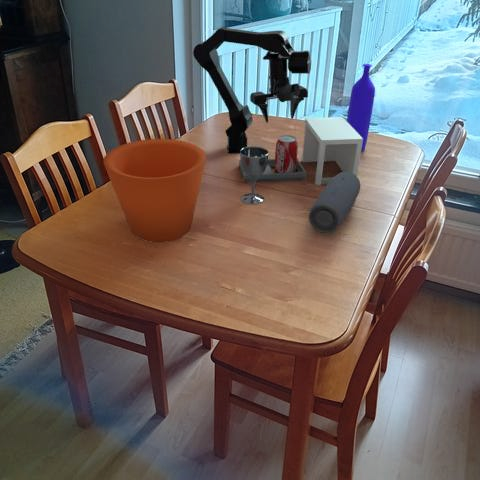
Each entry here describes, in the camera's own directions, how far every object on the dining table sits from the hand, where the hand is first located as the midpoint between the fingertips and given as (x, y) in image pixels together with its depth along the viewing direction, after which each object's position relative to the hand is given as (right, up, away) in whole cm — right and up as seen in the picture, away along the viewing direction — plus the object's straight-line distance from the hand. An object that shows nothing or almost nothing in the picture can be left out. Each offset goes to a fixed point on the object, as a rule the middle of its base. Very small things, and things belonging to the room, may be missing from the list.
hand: (279, 120), depth 163 cm
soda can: (+1, -19, -5) cm, 19 cm away
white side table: (+16, -18, -3) cm, 24 cm away
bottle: (+29, -7, +15) cm, 33 cm away
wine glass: (-10, -29, -21) cm, 37 cm away
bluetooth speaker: (+13, -35, -29) cm, 47 cm away
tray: (-3, -19, -6) cm, 20 cm away
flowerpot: (-35, -37, -35) cm, 62 cm away
